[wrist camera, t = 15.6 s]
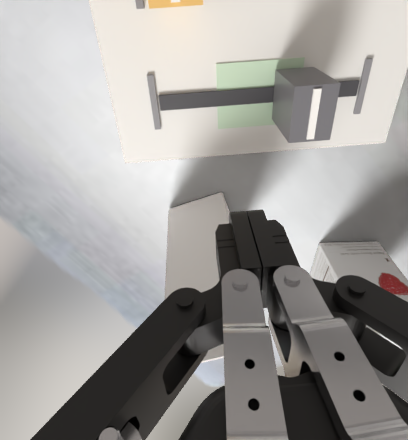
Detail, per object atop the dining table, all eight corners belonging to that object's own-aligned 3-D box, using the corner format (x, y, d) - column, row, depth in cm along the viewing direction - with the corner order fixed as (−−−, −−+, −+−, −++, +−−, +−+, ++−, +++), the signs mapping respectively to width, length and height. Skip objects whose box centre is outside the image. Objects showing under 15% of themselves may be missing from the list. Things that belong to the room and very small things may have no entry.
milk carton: (168, 208, 40) (161, 345, 25) (222, 190, 39) (250, 323, 24) (188, 247, 44) (193, 386, 29) (237, 233, 43) (269, 368, 28)
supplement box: (379, 239, 46) (452, 330, 34) (360, 282, 51) (416, 375, 39) (317, 240, 45) (368, 334, 33) (304, 284, 50) (344, 378, 38)
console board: (457, -159, 23) (481, -172, 21) (375, 135, 36) (386, 143, 34) (65, -135, 22) (55, -145, 21) (127, 155, 35) (124, 164, 34)
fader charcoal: (313, 66, 29) (341, 83, 24) (306, 116, 32) (330, 140, 27) (275, 69, 29) (295, 87, 24) (271, 118, 32) (289, 143, 27)
